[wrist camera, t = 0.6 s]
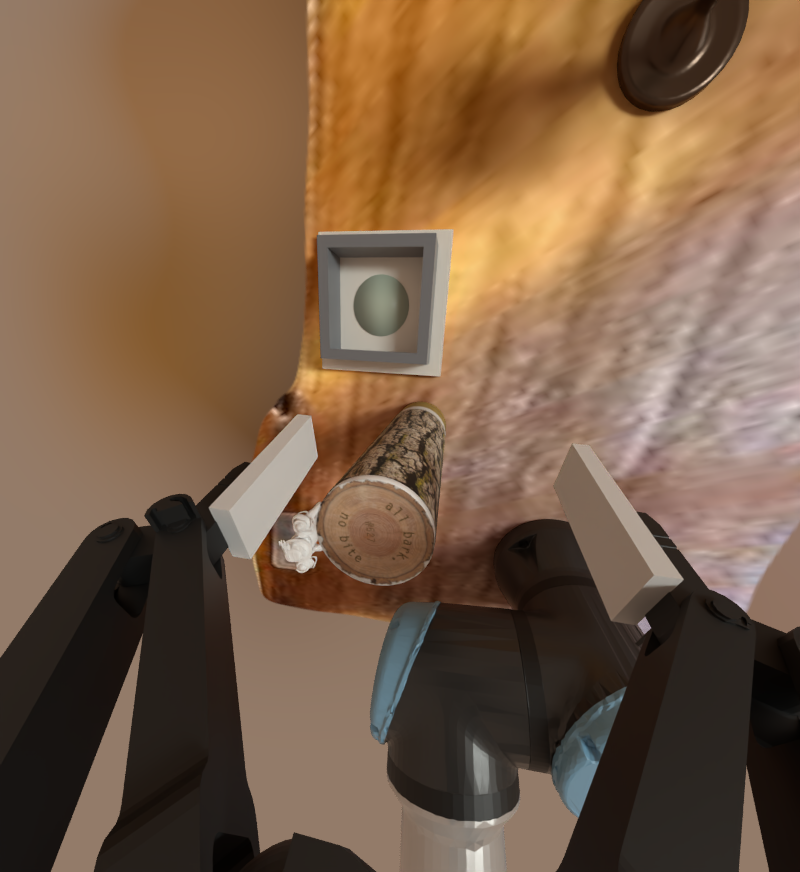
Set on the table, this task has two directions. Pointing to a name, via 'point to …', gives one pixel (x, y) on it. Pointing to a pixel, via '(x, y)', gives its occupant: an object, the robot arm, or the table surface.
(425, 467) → the paper tube
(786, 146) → the table surface
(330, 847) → the robot arm
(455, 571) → the table surface
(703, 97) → the table surface
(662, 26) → the candlestick
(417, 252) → the collar stand
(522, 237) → the table surface
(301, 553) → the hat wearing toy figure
